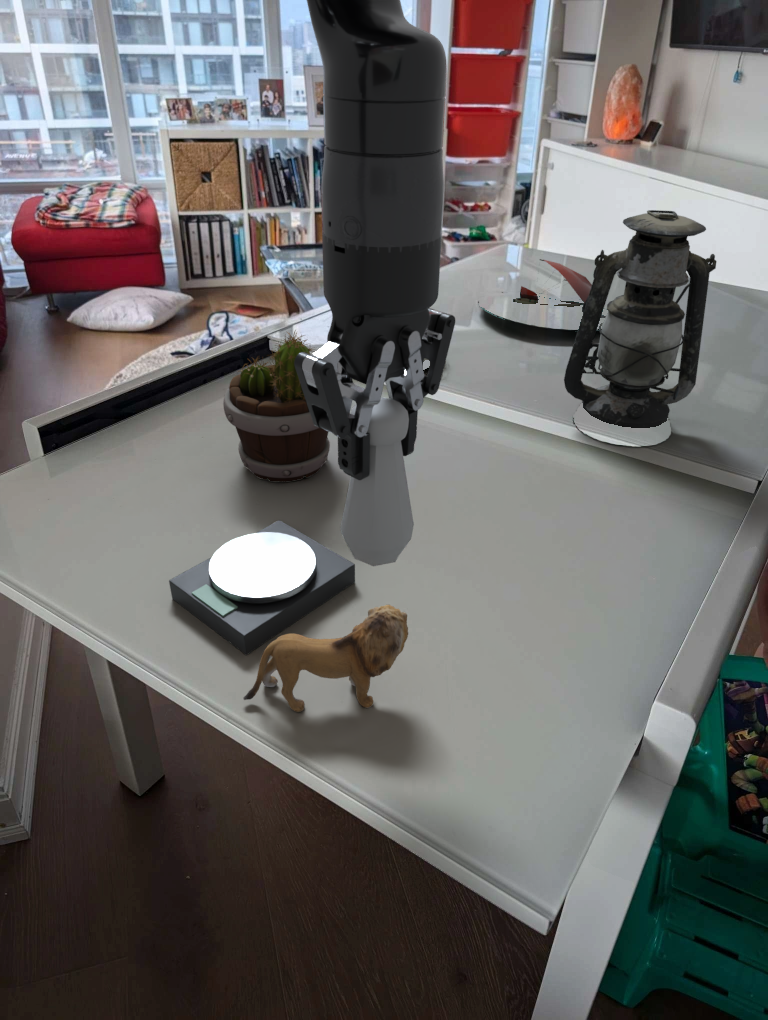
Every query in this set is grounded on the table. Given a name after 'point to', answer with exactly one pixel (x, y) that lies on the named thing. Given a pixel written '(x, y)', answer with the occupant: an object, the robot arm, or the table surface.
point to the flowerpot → (276, 418)
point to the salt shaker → (380, 492)
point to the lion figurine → (336, 655)
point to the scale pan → (262, 567)
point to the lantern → (642, 323)
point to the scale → (264, 620)
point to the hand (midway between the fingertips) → (378, 462)
